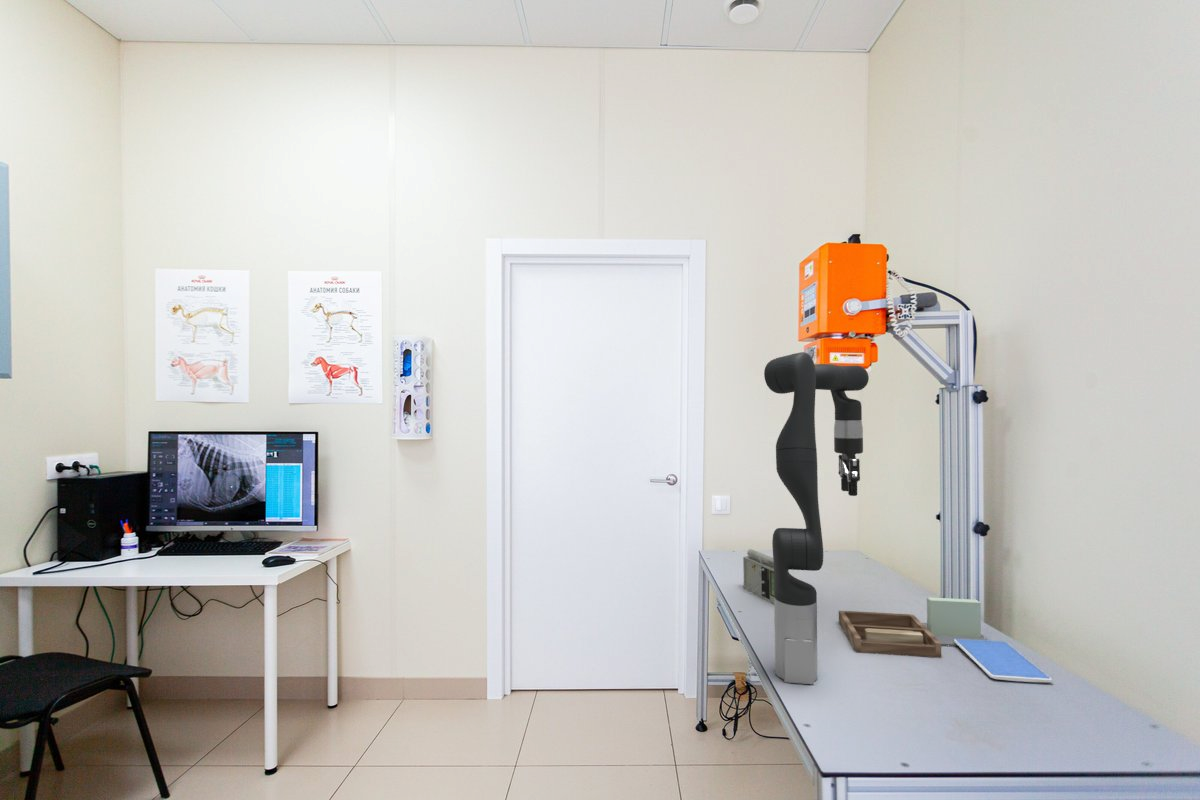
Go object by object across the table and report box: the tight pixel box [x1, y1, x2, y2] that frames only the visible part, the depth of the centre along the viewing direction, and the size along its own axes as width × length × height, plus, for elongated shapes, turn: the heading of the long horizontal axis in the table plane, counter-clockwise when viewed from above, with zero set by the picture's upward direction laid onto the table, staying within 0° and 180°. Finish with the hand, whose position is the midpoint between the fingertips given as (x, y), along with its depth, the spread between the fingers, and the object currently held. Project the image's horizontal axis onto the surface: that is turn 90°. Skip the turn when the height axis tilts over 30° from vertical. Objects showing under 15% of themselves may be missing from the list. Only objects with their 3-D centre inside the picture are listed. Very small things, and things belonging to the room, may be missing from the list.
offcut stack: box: [864, 628, 923, 644], centre depth 144 cm, size 4×13×4 cm, turn 79°
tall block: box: [926, 596, 982, 637], centre depth 151 cm, size 2×12×9 cm, turn 79°
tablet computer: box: [954, 639, 1053, 683], centre depth 135 cm, size 19×13×1 cm, turn 171°
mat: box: [921, 622, 988, 647], centre depth 151 cm, size 14×14×1 cm
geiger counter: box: [742, 548, 790, 605], centre depth 179 cm, size 14×6×25 cm
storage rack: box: [838, 610, 942, 658], centre depth 149 cm, size 19×19×4 cm
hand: (849, 493), depth 162 cm, fingers open, 8 cm apart
